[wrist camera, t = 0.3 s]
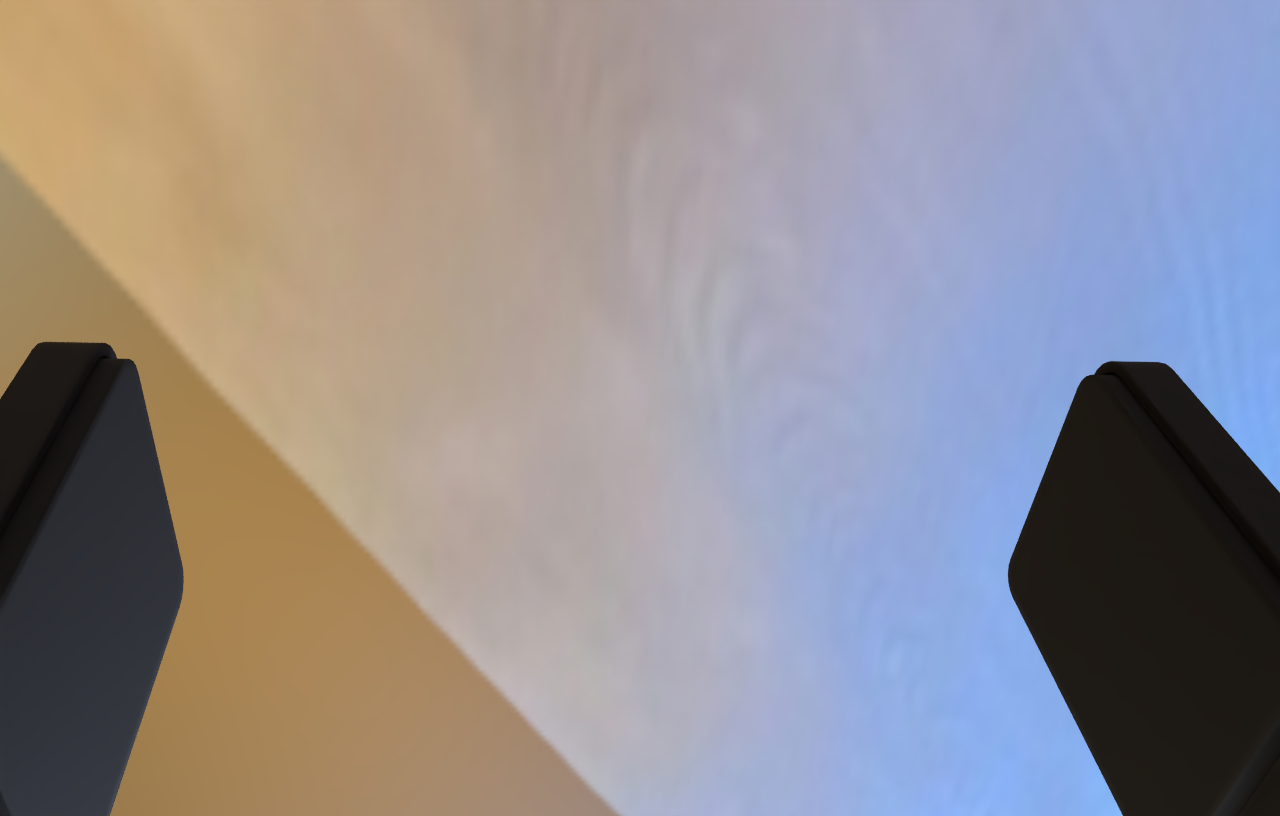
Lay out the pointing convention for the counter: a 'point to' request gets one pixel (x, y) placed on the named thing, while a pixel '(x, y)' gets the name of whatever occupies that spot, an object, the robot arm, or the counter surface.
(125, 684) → the robot arm
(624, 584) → the counter surface
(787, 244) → the counter surface
